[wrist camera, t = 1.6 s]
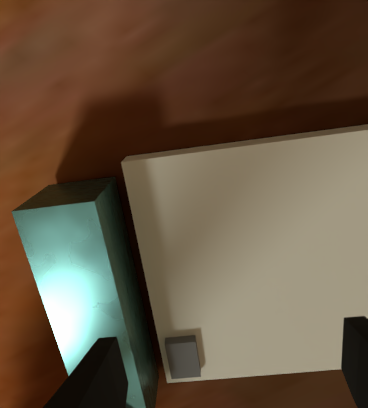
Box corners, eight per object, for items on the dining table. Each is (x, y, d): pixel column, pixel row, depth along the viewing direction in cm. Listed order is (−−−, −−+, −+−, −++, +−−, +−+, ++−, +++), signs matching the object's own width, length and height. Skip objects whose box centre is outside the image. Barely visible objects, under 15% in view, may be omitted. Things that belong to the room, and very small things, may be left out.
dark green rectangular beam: (158, 374, 24) (151, 437, 20) (106, 379, 25) (88, 442, 20) (115, 176, 19) (92, 203, 15) (49, 184, 19) (8, 214, 15)
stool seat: (390, 346, 23) (408, 371, 21) (168, 365, 24) (166, 390, 22) (414, 118, 18) (441, 122, 16) (126, 156, 19) (118, 165, 17)
